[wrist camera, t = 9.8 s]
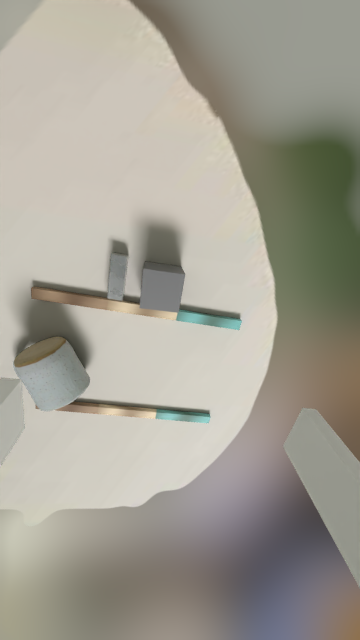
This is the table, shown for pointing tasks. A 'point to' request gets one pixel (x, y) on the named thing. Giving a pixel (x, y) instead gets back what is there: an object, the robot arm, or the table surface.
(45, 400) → the ceramic mug
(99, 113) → the table surface
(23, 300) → the table surface
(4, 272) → the table surface
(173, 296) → the block
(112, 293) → the bar
